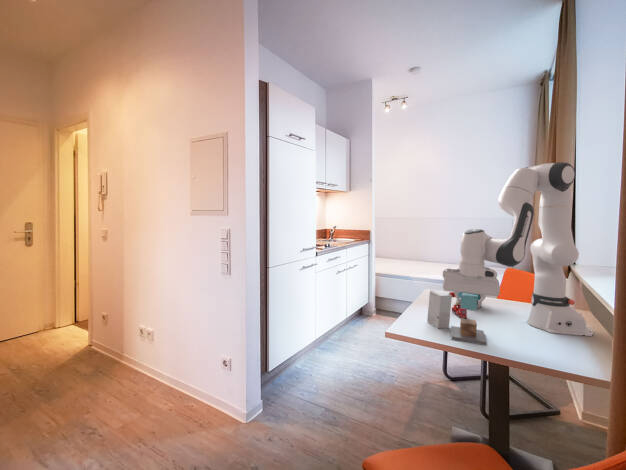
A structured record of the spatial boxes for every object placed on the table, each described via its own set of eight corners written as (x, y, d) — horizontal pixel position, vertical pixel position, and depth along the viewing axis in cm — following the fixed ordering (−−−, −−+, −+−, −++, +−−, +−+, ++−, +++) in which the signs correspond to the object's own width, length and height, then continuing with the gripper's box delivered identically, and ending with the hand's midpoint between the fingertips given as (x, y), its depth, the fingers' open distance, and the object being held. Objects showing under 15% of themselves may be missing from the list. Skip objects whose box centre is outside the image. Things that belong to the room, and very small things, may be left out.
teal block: (476, 307, 124) (477, 295, 124) (476, 310, 119) (476, 298, 119) (461, 304, 127) (462, 292, 126) (460, 308, 122) (461, 296, 122)
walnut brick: (474, 332, 126) (475, 320, 125) (476, 337, 121) (476, 324, 120) (460, 329, 128) (460, 318, 127) (460, 334, 123) (461, 322, 122)
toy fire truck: (460, 318, 144) (461, 298, 143) (448, 309, 158) (449, 291, 157) (467, 319, 144) (468, 299, 143) (454, 309, 158) (455, 291, 157)
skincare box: (426, 322, 140) (428, 290, 138) (438, 320, 141) (439, 289, 140) (438, 329, 132) (440, 295, 130) (450, 327, 133) (452, 294, 132)
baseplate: (482, 333, 127) (483, 330, 127) (486, 345, 116) (486, 342, 116) (451, 328, 132) (451, 325, 132) (451, 339, 121) (451, 336, 121)
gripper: (443, 269, 123) (441, 302, 124) (502, 274, 115) (499, 309, 116) (442, 266, 129) (441, 298, 130) (498, 270, 121) (496, 304, 122)
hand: (469, 303), depth 123 cm, fingers closed on teal block, 6 cm apart
